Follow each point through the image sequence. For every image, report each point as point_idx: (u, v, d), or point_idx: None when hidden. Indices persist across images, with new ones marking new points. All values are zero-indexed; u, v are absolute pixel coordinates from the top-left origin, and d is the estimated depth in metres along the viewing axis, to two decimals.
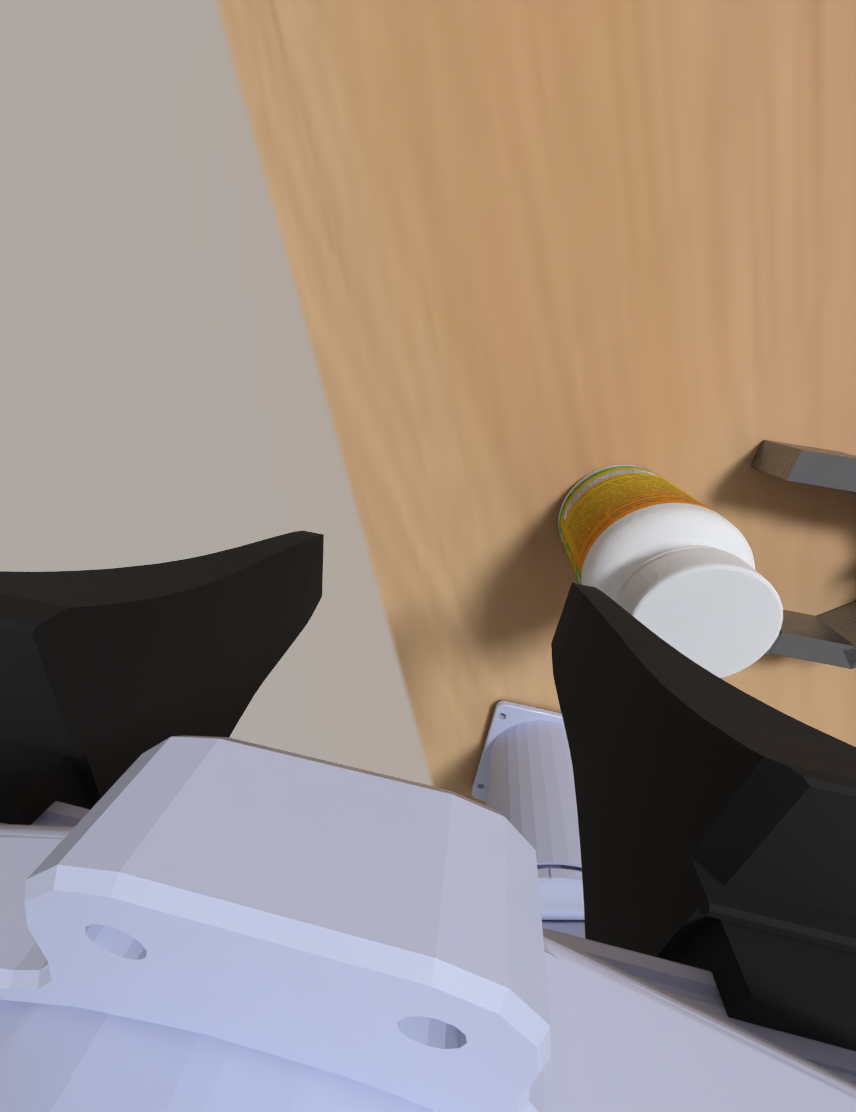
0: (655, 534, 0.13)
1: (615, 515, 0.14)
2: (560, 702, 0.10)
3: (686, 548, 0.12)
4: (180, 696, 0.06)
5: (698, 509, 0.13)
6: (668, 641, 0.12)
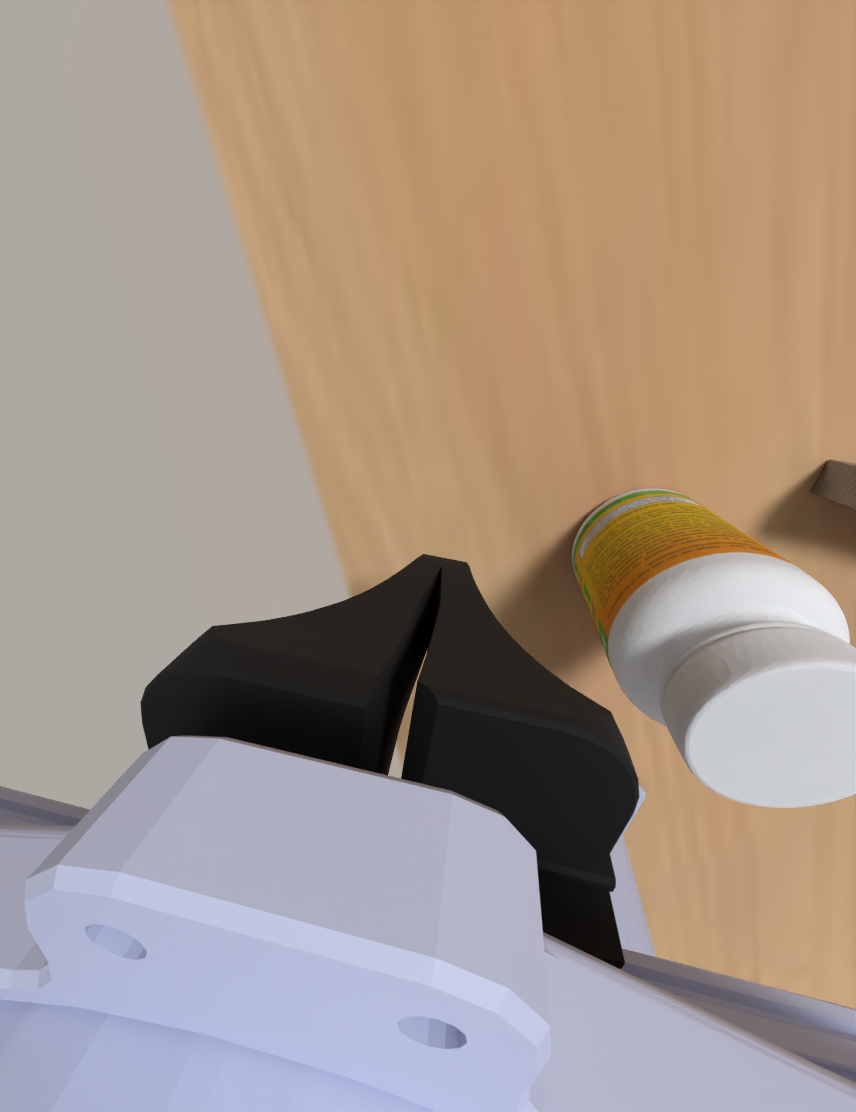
0: (716, 598, 0.09)
1: (655, 565, 0.11)
2: None
3: (767, 626, 0.08)
4: (385, 744, 0.06)
5: (774, 563, 0.09)
6: (741, 757, 0.08)
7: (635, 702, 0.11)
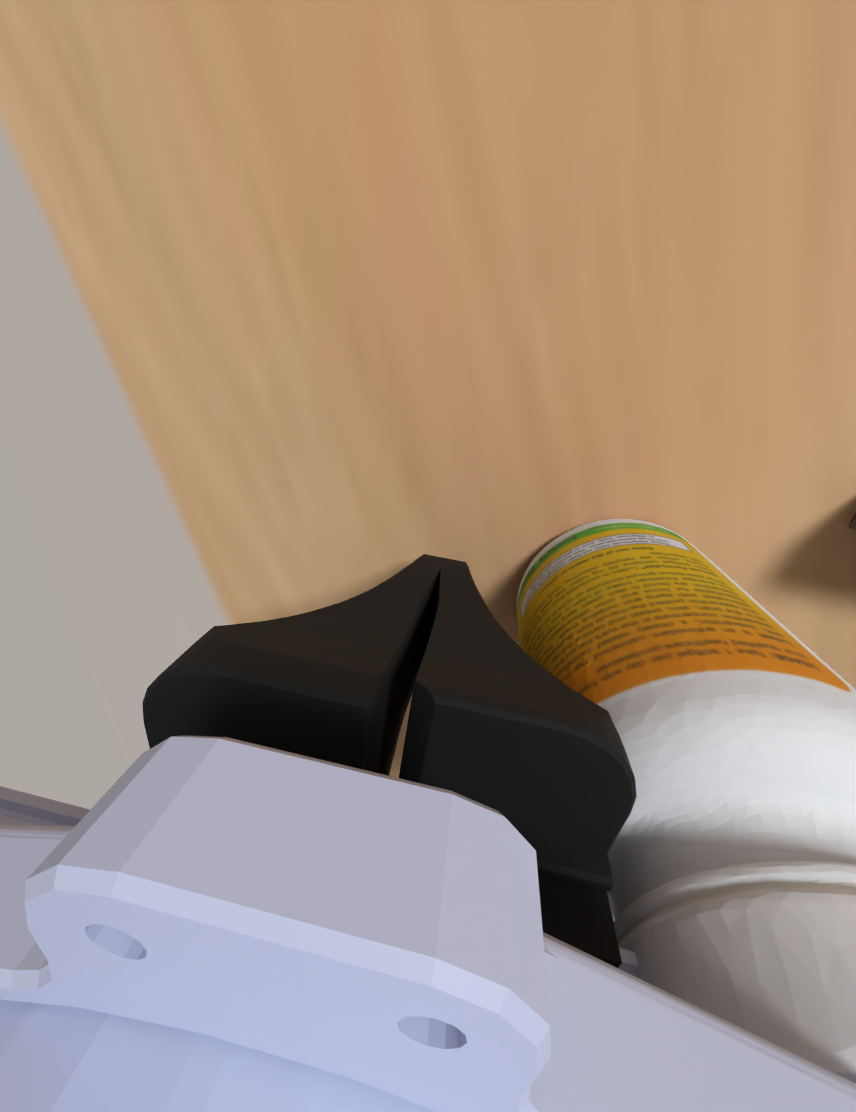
0: (712, 775, 0.05)
1: (607, 675, 0.06)
2: None
3: (822, 881, 0.04)
4: (386, 744, 0.06)
5: (822, 702, 0.05)
6: None
7: None
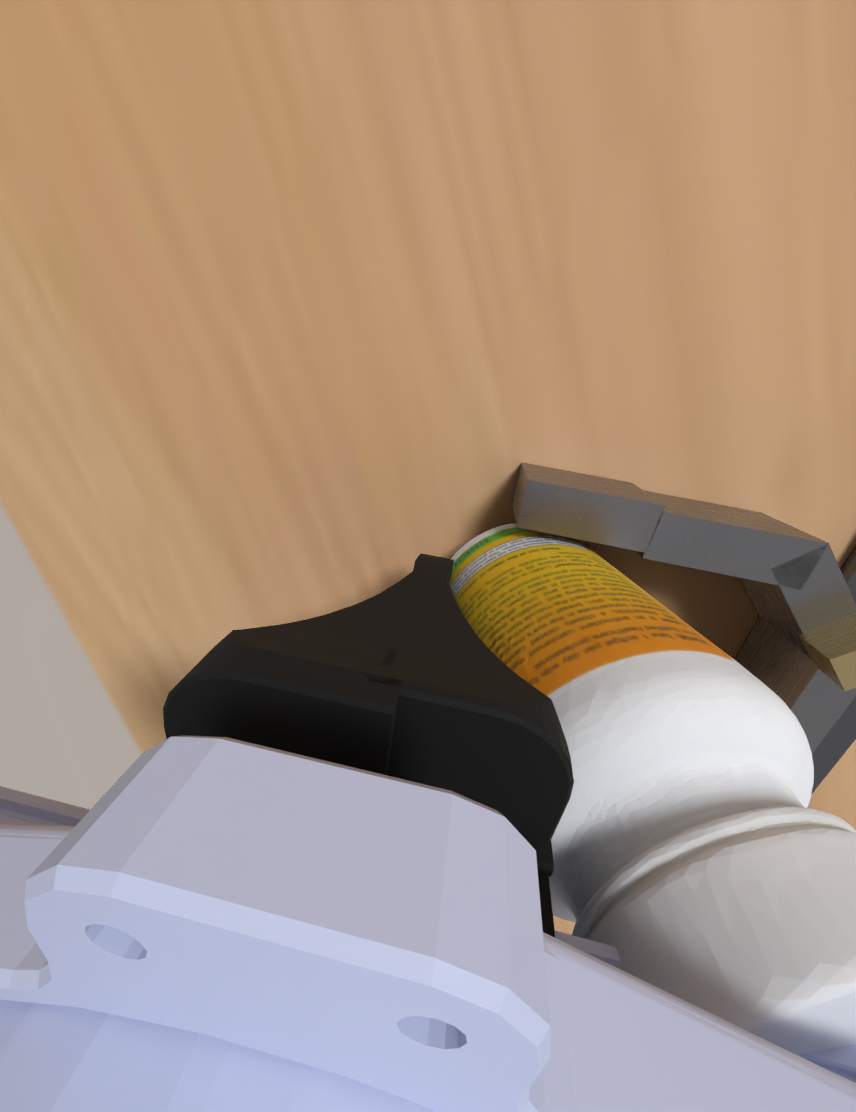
0: (653, 751, 0.05)
1: (546, 670, 0.06)
2: None
3: (755, 828, 0.04)
4: None
5: (722, 672, 0.06)
6: None
7: None
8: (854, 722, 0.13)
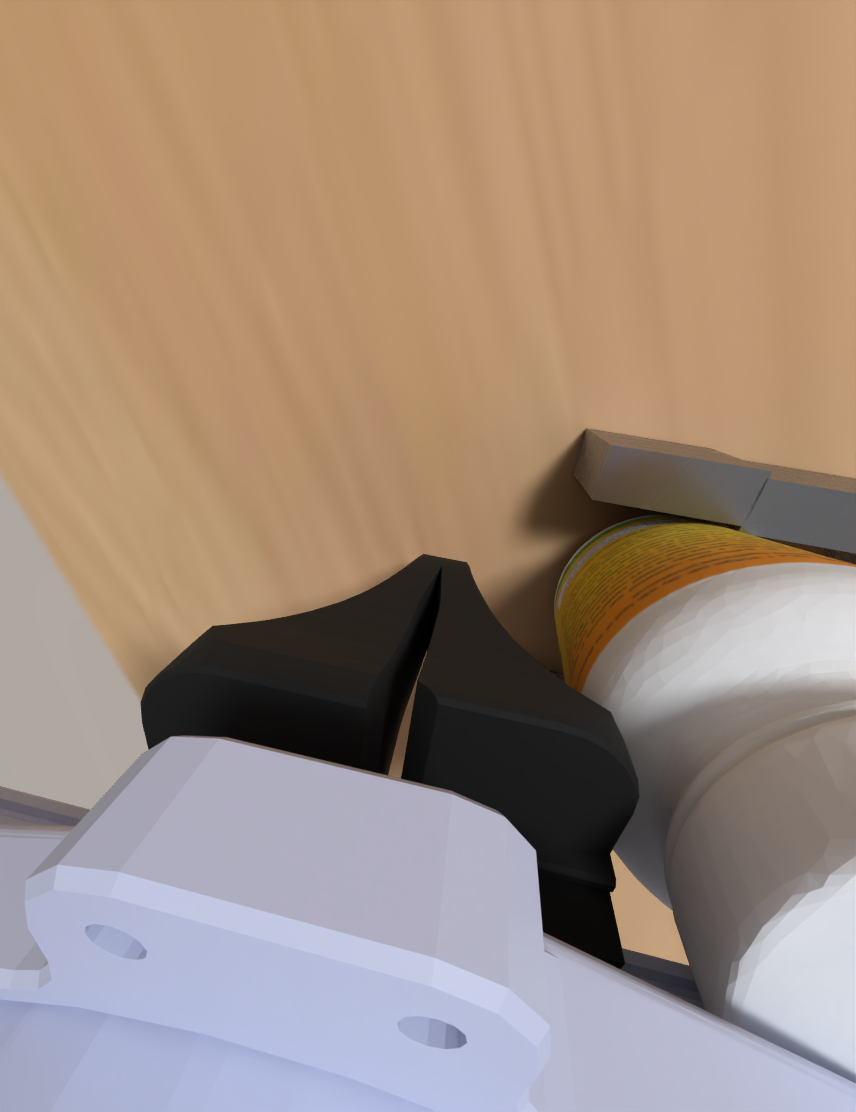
0: (763, 646, 0.04)
1: (643, 595, 0.06)
2: None
3: None
4: (385, 744, 0.06)
5: None
6: None
7: (632, 871, 0.06)
8: None
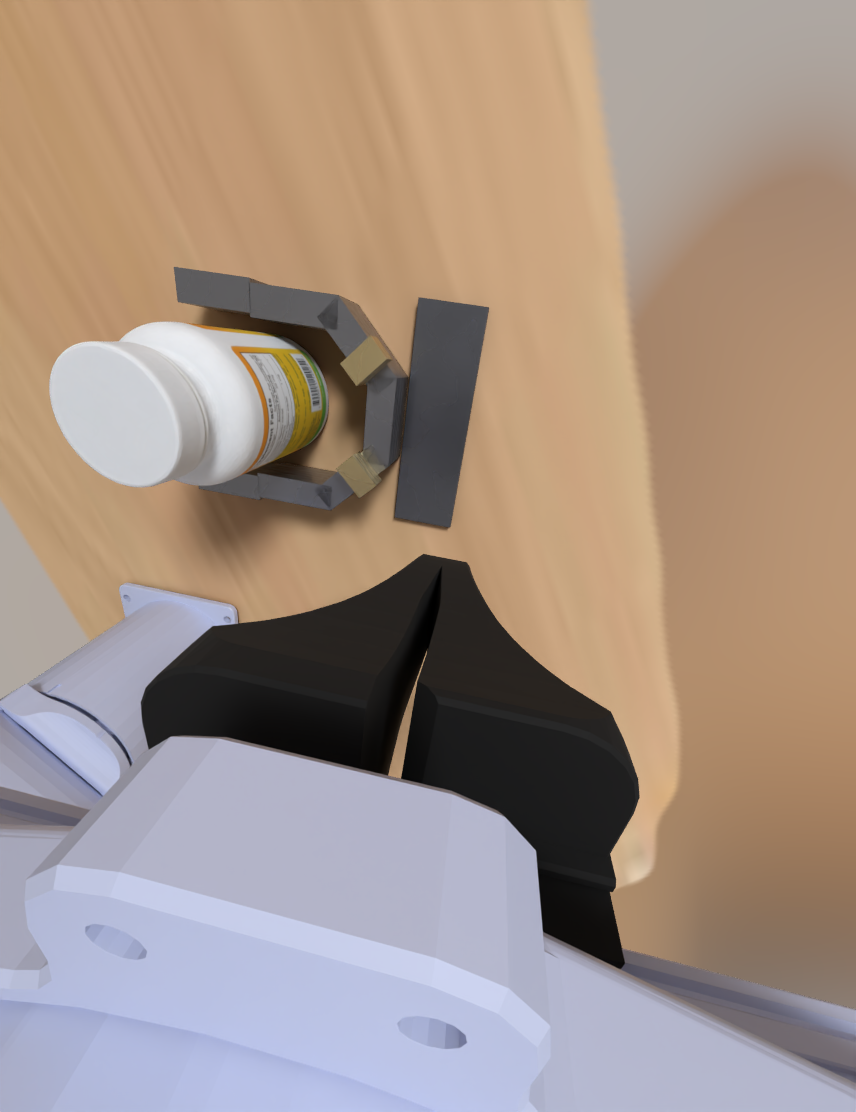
0: None
1: None
2: None
3: None
4: (385, 744, 0.06)
5: (168, 322, 0.13)
6: (98, 441, 0.12)
7: None
8: (454, 458, 0.20)
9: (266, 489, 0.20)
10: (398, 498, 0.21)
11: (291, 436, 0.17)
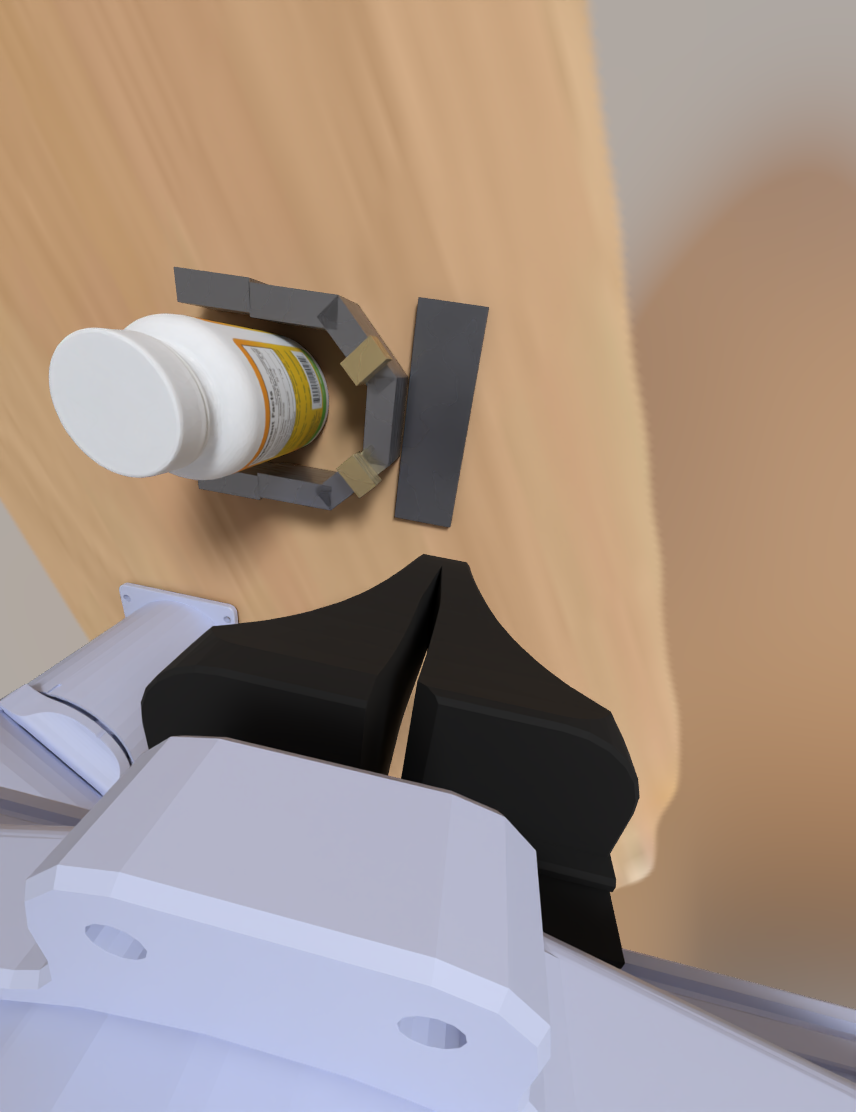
0: None
1: None
2: None
3: None
4: (384, 743, 0.06)
5: (169, 314, 0.13)
6: (98, 430, 0.12)
7: None
8: (454, 458, 0.20)
9: (266, 489, 0.20)
10: (398, 498, 0.21)
11: (292, 432, 0.17)
